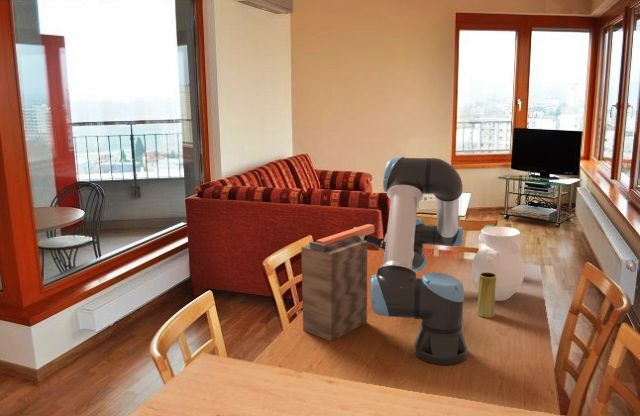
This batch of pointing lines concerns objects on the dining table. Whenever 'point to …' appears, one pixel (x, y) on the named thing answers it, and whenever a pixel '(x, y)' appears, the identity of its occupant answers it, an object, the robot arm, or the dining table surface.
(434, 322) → the robot arm
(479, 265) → the pitcher
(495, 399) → the dining table surface
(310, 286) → the stand
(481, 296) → the vase
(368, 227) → the lever bar
